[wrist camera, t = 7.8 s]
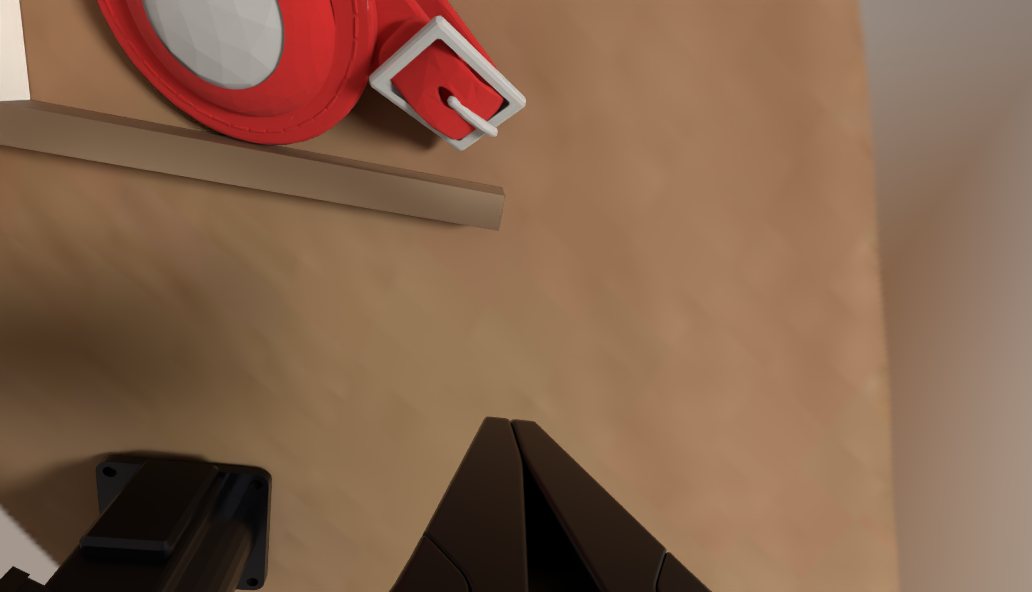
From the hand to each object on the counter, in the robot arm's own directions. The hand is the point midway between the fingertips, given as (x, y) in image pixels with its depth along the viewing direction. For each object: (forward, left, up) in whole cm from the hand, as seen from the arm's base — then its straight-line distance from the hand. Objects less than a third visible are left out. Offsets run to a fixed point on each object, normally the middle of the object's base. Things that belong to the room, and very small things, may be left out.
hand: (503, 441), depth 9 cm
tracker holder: (+6, +6, -12) cm, 15 cm away
